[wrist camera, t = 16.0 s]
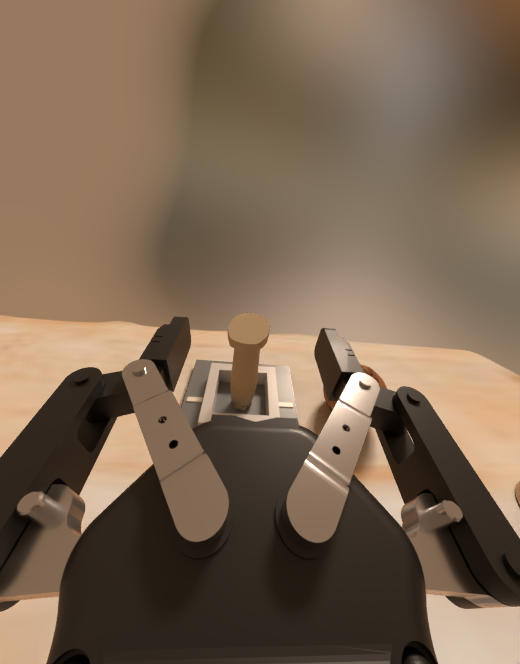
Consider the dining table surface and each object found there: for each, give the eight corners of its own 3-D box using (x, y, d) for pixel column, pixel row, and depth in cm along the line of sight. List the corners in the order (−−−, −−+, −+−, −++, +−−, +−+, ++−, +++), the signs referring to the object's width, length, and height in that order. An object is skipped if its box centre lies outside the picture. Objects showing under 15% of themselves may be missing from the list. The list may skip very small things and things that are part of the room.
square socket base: (287, 371, 44) (292, 355, 41) (303, 470, 29) (311, 454, 27) (197, 365, 43) (195, 347, 40) (166, 465, 28) (160, 448, 25)
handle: (220, 417, 33) (221, 338, 24) (232, 384, 38) (237, 310, 29) (251, 424, 32) (264, 347, 23) (259, 390, 37) (272, 317, 29)
